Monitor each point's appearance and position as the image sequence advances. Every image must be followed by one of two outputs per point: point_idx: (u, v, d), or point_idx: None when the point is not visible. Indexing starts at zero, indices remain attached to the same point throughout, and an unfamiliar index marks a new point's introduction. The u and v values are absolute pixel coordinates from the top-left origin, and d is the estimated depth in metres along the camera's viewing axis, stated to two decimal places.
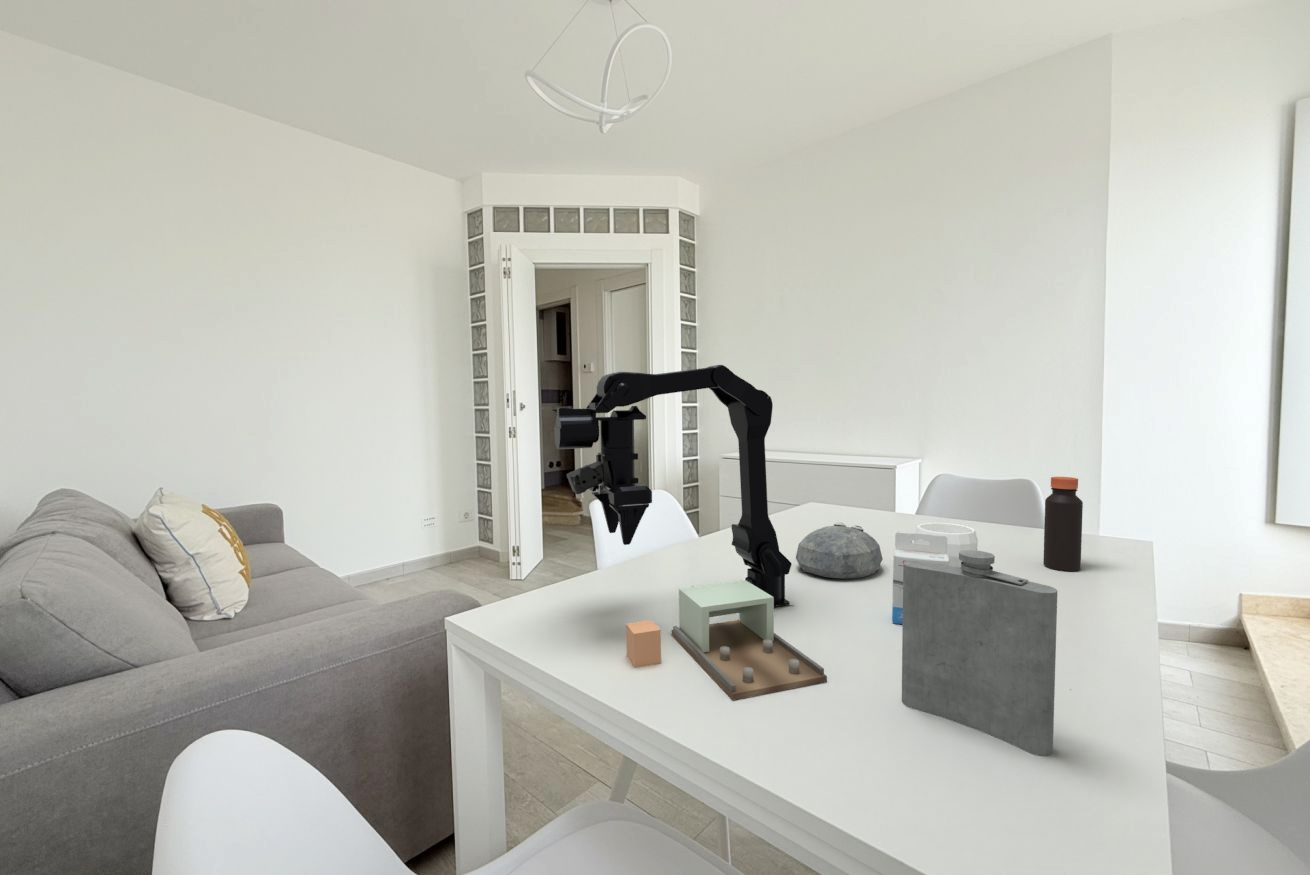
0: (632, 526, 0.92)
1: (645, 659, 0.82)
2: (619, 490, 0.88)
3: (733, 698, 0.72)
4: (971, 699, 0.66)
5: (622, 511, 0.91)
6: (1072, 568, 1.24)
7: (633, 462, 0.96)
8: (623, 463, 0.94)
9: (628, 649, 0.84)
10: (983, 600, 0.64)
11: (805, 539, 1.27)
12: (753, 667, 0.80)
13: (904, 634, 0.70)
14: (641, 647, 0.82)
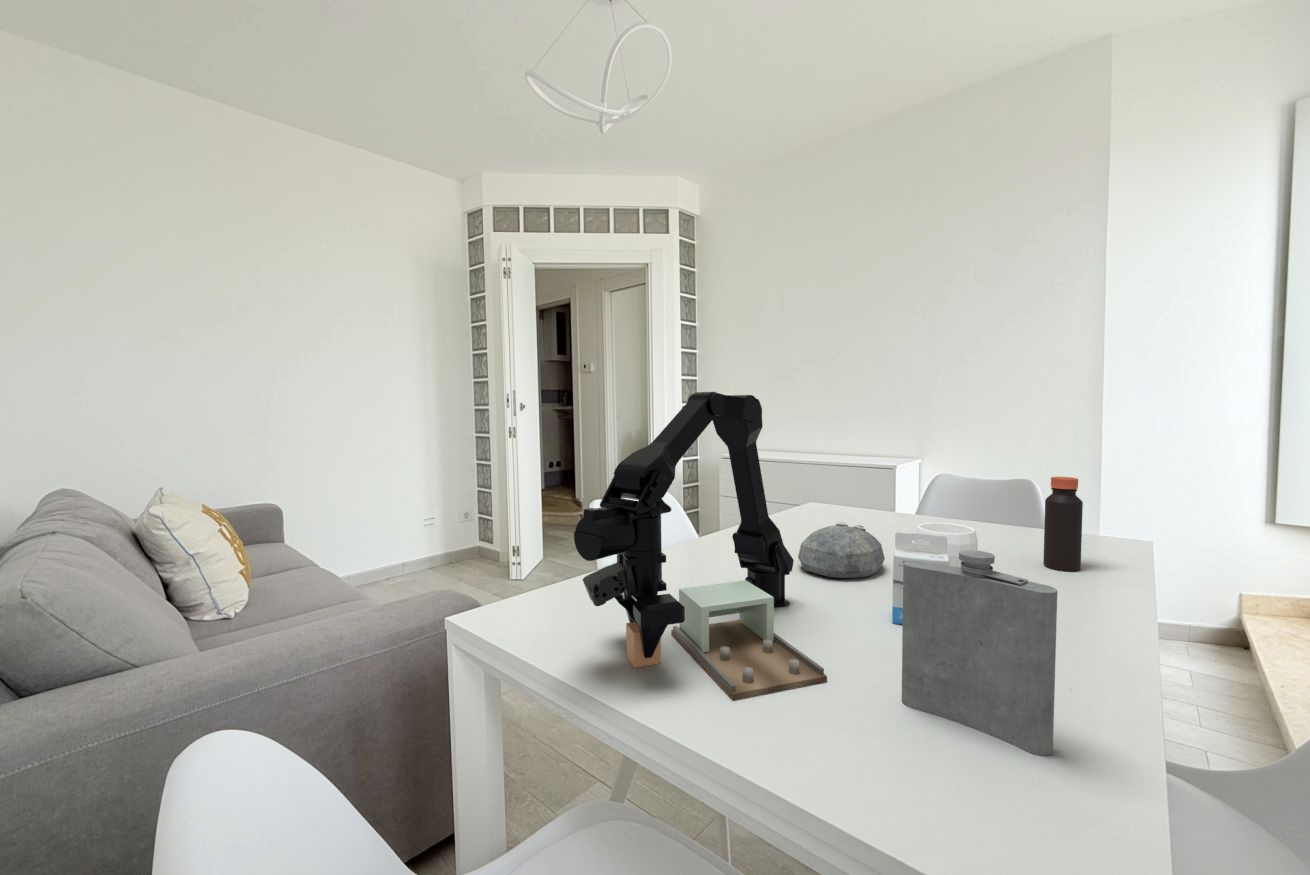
0: (655, 638, 0.81)
1: (645, 658, 0.82)
2: (646, 610, 0.74)
3: (733, 698, 0.72)
4: (971, 699, 0.66)
5: None
6: (1072, 568, 1.24)
7: (660, 565, 0.83)
8: (649, 568, 0.81)
9: (628, 649, 0.84)
10: (983, 600, 0.64)
11: (808, 539, 1.27)
12: (753, 667, 0.80)
13: (904, 634, 0.70)
14: (641, 647, 0.82)
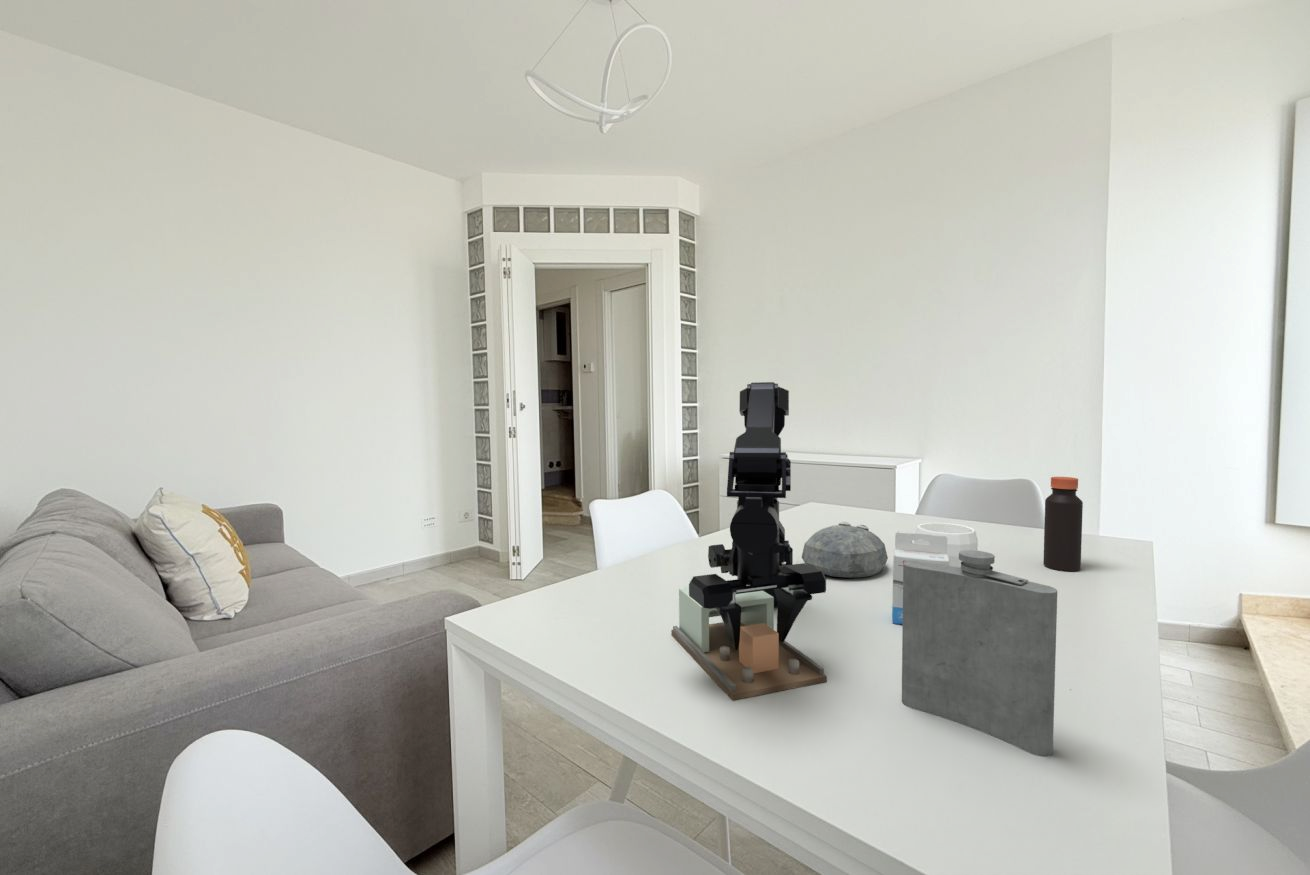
0: (730, 629, 0.78)
1: (744, 658, 0.80)
2: (691, 580, 0.79)
3: (733, 698, 0.72)
4: (971, 699, 0.66)
5: None
6: (1072, 568, 1.24)
7: (755, 558, 0.77)
8: (740, 555, 0.78)
9: None
10: (983, 600, 0.64)
11: (812, 539, 1.27)
12: None
13: (904, 634, 0.70)
14: (742, 644, 0.80)
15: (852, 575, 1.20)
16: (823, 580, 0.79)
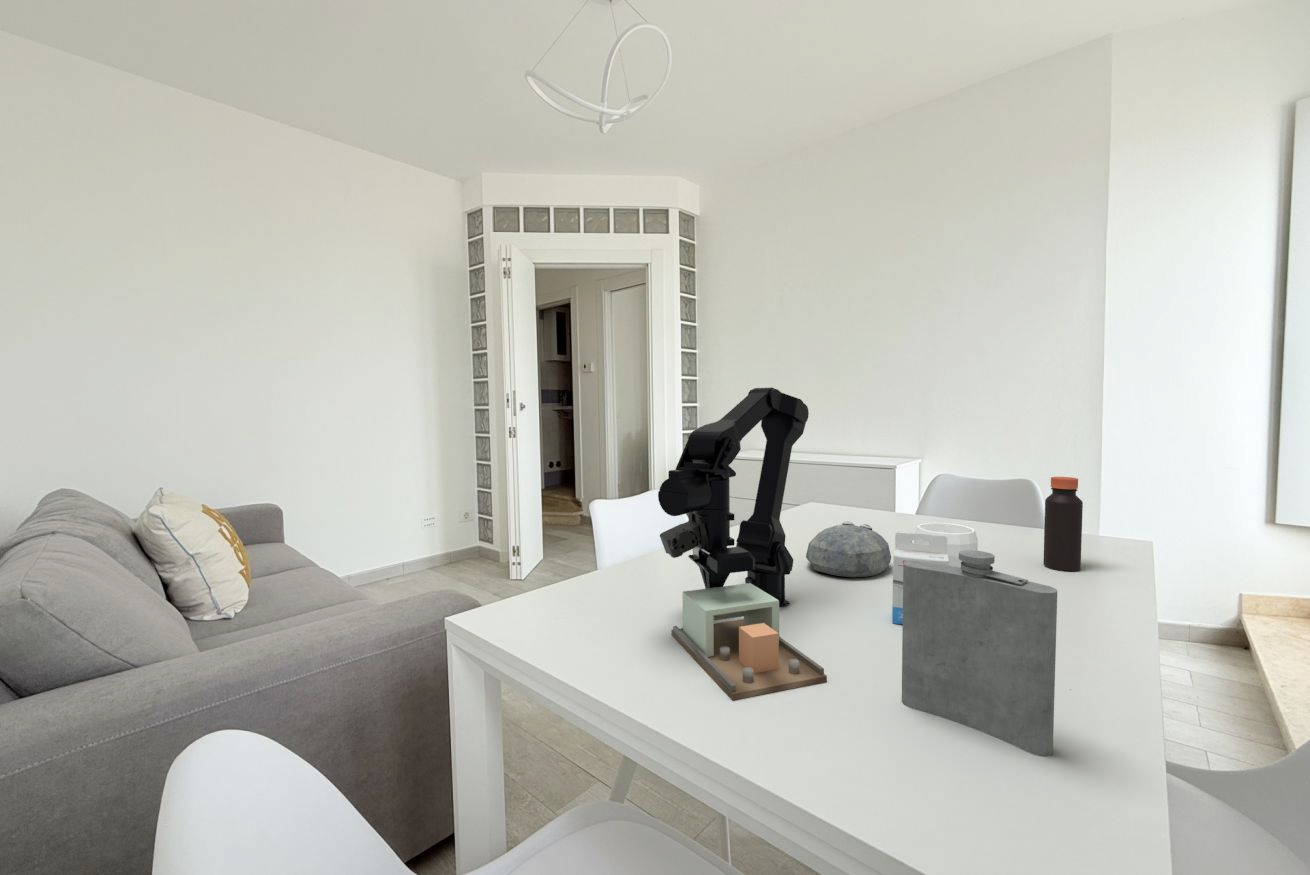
0: (719, 583, 0.93)
1: (744, 658, 0.80)
2: (722, 558, 0.84)
3: (733, 698, 0.72)
4: (971, 699, 0.66)
5: (711, 569, 0.92)
6: (1072, 568, 1.24)
7: (729, 523, 0.93)
8: (720, 525, 0.91)
9: None
10: (983, 600, 0.64)
11: (816, 538, 1.27)
12: None
13: (904, 634, 0.70)
14: (742, 644, 0.80)
15: (857, 574, 1.21)
16: None
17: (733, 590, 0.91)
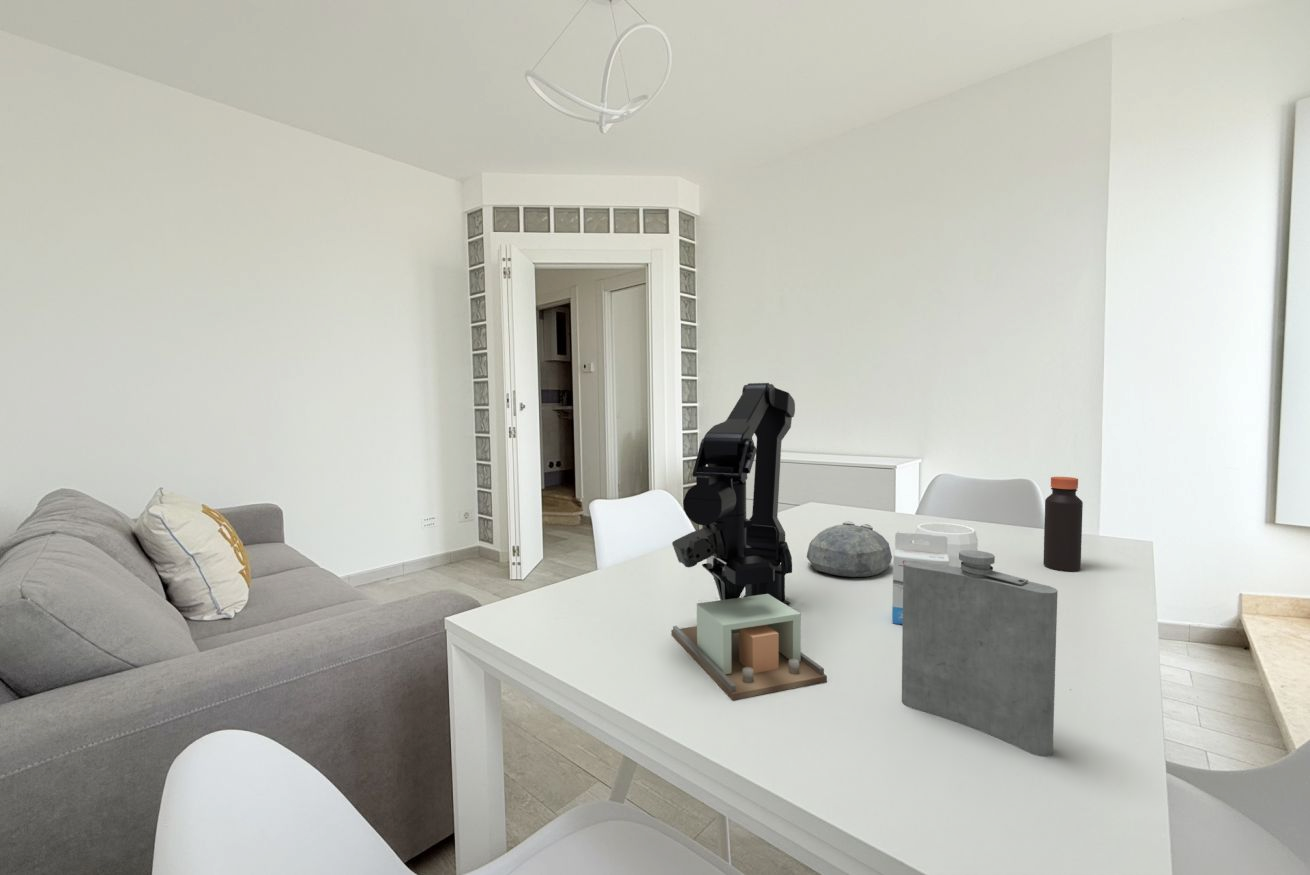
0: (735, 594, 0.88)
1: (744, 658, 0.80)
2: (741, 568, 0.79)
3: (733, 698, 0.72)
4: (971, 699, 0.66)
5: (726, 579, 0.86)
6: (1072, 568, 1.24)
7: (745, 530, 0.87)
8: (737, 532, 0.86)
9: None
10: (983, 600, 0.64)
11: (817, 538, 1.27)
12: None
13: (904, 634, 0.70)
14: (742, 644, 0.80)
15: (858, 574, 1.21)
16: None
17: (750, 602, 0.85)
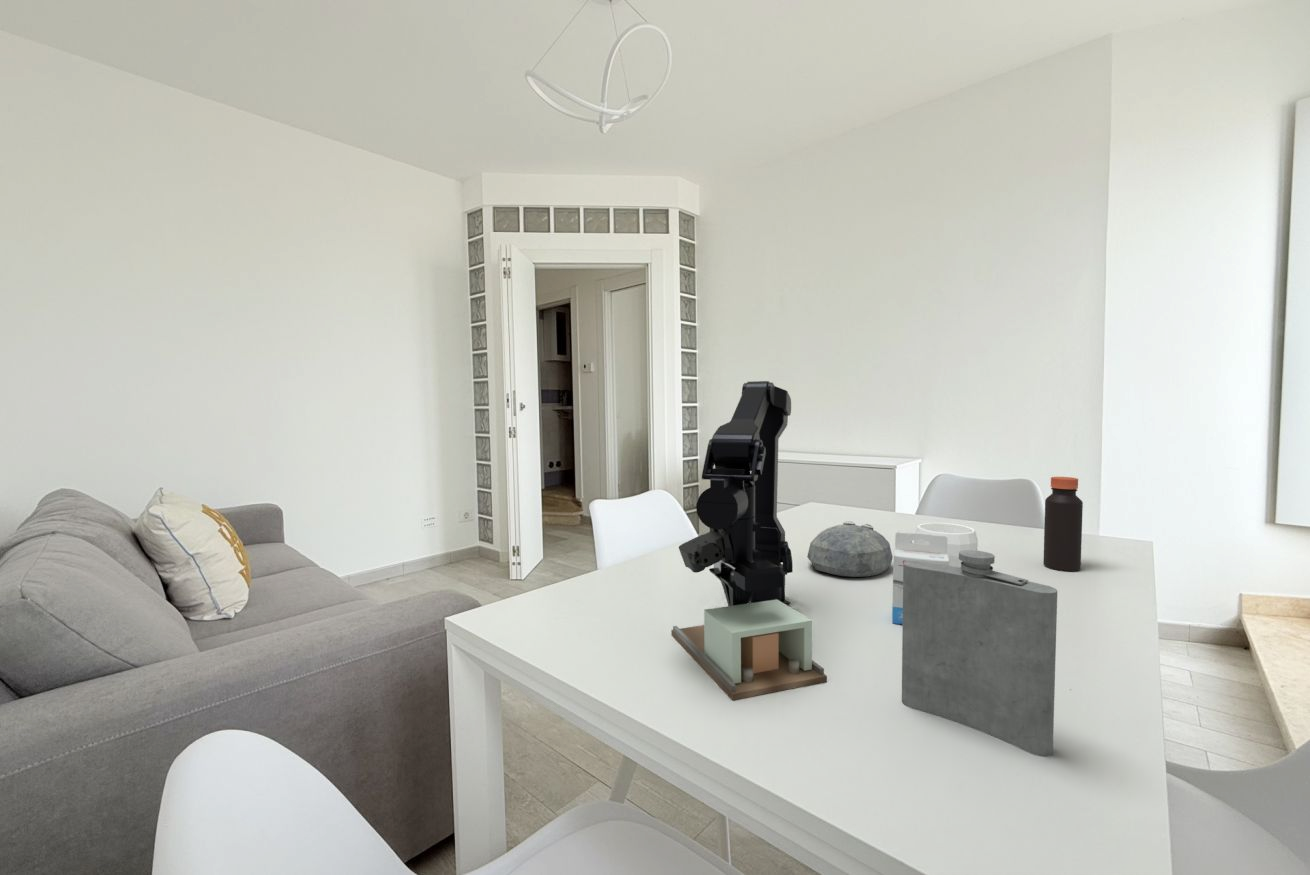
0: (744, 600, 0.85)
1: (744, 658, 0.80)
2: (751, 574, 0.76)
3: (733, 698, 0.72)
4: (971, 699, 0.66)
5: (735, 585, 0.84)
6: (1072, 568, 1.24)
7: (754, 533, 0.85)
8: (746, 536, 0.83)
9: None
10: (983, 600, 0.64)
11: (818, 538, 1.27)
12: None
13: (904, 634, 0.70)
14: (742, 644, 0.80)
15: (859, 574, 1.21)
16: None
17: (760, 608, 0.83)
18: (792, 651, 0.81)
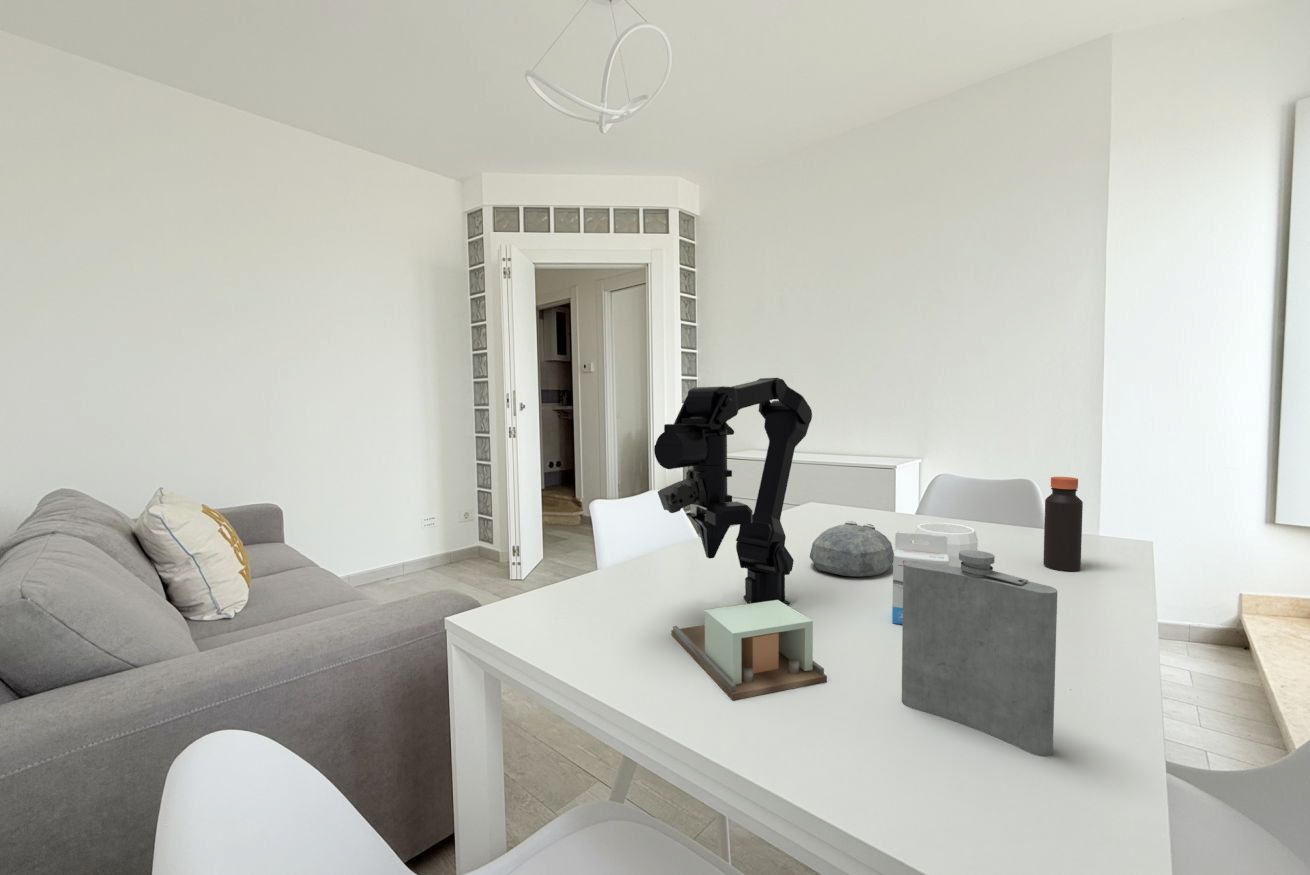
0: (717, 540, 0.94)
1: (744, 658, 0.80)
2: (720, 510, 0.85)
3: (733, 698, 0.72)
4: (971, 699, 0.66)
5: (708, 525, 0.92)
6: (1072, 568, 1.24)
7: (726, 479, 0.93)
8: (718, 481, 0.91)
9: None
10: (983, 600, 0.64)
11: (820, 538, 1.27)
12: None
13: (904, 634, 0.70)
14: (742, 644, 0.80)
15: (862, 574, 1.21)
16: None
17: (760, 608, 0.83)
18: (793, 651, 0.81)
